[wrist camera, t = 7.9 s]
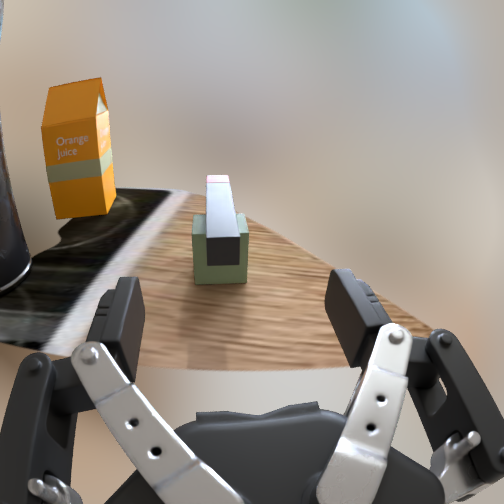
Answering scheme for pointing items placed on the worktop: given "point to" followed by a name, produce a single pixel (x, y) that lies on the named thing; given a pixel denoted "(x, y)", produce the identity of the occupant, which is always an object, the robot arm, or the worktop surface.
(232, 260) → the marker
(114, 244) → the worktop surface
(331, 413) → the robot arm
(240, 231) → the block
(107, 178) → the orange juice
